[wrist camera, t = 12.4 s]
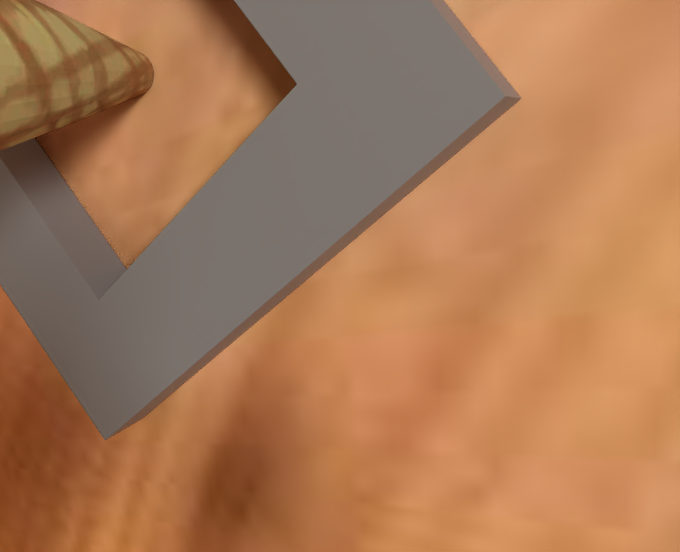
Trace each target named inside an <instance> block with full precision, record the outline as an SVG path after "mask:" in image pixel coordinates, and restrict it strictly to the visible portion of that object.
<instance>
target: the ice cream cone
mask: <svg viewBox="0 0 680 552" xmlns="http://www.w3.org/2000/svg"><path fill="white" fill-rule="evenodd" d="M153 76H154V71H153V67H152V64H151V63H150V61H149V60H148V58H147V57H145V56H144V55H143V54H141V53H139V52H138V51H136V50H134V49H132V48H130V47H128V46H126V45H124V44H122V43H120V42H118V41H116V40H114V39H112V38H110V37H108V36H106V35H104V34H102V33H100V32H98V31H96V30H94V29H92V28H90V27H88V26H86V25H84V24H82V23H80V22H78V21H76V20H74V19H72V18H70V17H68V16H67V15H65V14H63V13H61V12H59V11H57V10H55V9H53V8H50V7H48V6H46V5H44V4H42V3H40V2H38V1H36V0H0V150H3V149H6V148H8V147H11V146H14V145H17V144H19V143H22V142H25V141H27V140H30V139H33V138H35V137H38V136H40V135H43V134H46V133H48V132H51V131H54V130H56V129H59V128H61V127H64V126H67V125H69V124H72V123H74V122H77V121H79V120H81V119H84V118H86V117H89V116H91V115H93V114H96V113H98V112H100V111H103V110H105V109H108V108H110V107H112V106H115V105H117V104H120V103H122V102H124V101H127V100H129V99H132V98H134V97H136V96H139V95H141V94H143V93H146V92H147V91H148V90H149V88H150V87H151V85H152V82H153Z"/></svg>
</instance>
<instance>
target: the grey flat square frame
mask: <svg viewBox="0 0 680 552" xmlns="http://www.w3.org/2000/svg"><path fill="white" fill-rule="evenodd" d="M234 1H235V2H236V4H237V5H238V6H239V8H240V9H241V10H242V12H243V13H244V14H245V16H246V17H247V18H248V20H249V21H250V22H251V24H252V25H253V26H254V28H255V29H256V30H257V31H258V33H259V34H260V35H261V37H262V38H263V39H264V41H265V42H266V43H267V45H268V46H269V47H270V49H271V50H272V51H273V53H274V54H275V55H276V57H277V58H278V59H279V61H280V62H281V63H282V65H283V66H284V67H285V69H286V70H287V71H288V73H289V74H290V75H291V77H292V78H293V79H294V81H295V82H296V83H297V85H296V86H295V87H294V88H293V89H292V90H291V91H290V92H289V93H288V95H287V96H286V97H285V98H284V99H283V100H282V101H281V102H280V103H279V104H278V105H277V107H276V108H275V109H274V110H273V111H272V112H271V113H270V114H269V115H268V116H267V117H266V119H265V120H264V121H263V122H262V123H261V124H260V125H259V126H258V127H257V128H256V129H255V130H254V132H253V133H252V134H251V135H250V136H249V137H248V138H247V139H246V140H245V141H244V142H243V144H242V145H241V146H240V147H239V148H238V149H237V150H236V151H235V152H234V153H233V154H232V156H231V157H230V158H229V159H228V160H227V161H226V162H225V163H224V164H223V165H222V166H221V168H220V169H219V170H218V171H217V172H216V173H215V174H214V175H213V176H212V177H211V178H210V179H209V181H208V182H207V183H206V184H205V185H204V186H203V187H202V188H201V189H200V190H199V191H198V193H197V194H196V195H195V196H194V197H193V198H192V199H191V200H190V201H189V202H188V203H187V205H186V206H185V207H184V208H183V209H182V210H181V211H180V212H179V213H178V214H177V215H176V217H175V218H174V219H173V220H172V221H171V222H170V223H169V224H168V225H167V226H166V227H165V228H164V230H163V231H162V232H161V233H160V234H159V235H158V236H157V237H156V238H155V239H154V240H153V242H152V243H151V244H150V245H149V246H148V247H147V248H146V249H145V250H144V251H143V252H142V254H141V255H140V256H139V257H138V258H137V259H136V260H135V261H134V262H133V263H132V264H131V265H130V267H129V268H128V269H126V268H125V266H124V265H123V264H122V262H121V261H120V259H119V258H118V256H117V255H116V254H115V252H114V251H113V249H112V248H111V246H110V245H109V243H108V242H107V241H106V239H105V238H104V236H103V235H102V233H101V232H100V231H99V229H98V228H97V226H96V225H95V223H94V222H93V221H92V219H91V218H90V216H89V215H88V213H87V212H86V211H85V209H84V208H83V206H82V205H81V203H80V202H79V200H78V199H77V198H76V196H75V195H74V193H73V192H72V190H71V189H70V188H69V186H68V185H67V183H66V182H65V180H64V179H63V178H62V176H61V175H60V173H59V172H58V170H57V169H56V167H55V166H54V165H53V163H52V162H51V160H50V159H49V157H48V156H47V155H46V153H45V152H44V150H43V149H42V147H41V146H40V145H39V143H38V142H37V140H36V139H35V138H33V139H30V140H27V141H25V142H22V143H19V144H17V145H14V146H11V147H8V148H6V149H3V150H0V285H1V286H2V288H3V289H4V291H5V292H6V294H7V295H8V297H9V298H10V300H11V301H12V303H13V304H14V306H15V307H16V309H17V310H18V312H19V313H20V315H21V316H22V317H23V319H24V320H25V322H26V323H27V325H28V326H29V328H30V329H31V331H32V332H33V334H34V335H35V337H36V338H37V340H38V341H39V343H40V344H41V346H42V347H43V349H44V350H45V352H46V353H47V355H48V356H49V358H50V359H51V361H52V362H53V364H54V365H55V367H56V368H57V370H58V371H59V373H60V374H61V375H62V377H63V378H64V380H65V381H66V383H67V384H68V386H69V387H70V389H71V390H72V392H73V393H74V395H75V396H76V398H77V399H78V401H79V402H80V404H81V405H82V407H83V408H84V410H85V411H86V413H87V414H88V416H89V417H90V419H91V420H92V422H93V423H94V425H95V426H96V428H97V429H98V430H99V432H100V433H101V435H102V436H103V438H104V439H105V440H107V439H108V438H110V437H112V436H114V435H115V434H117V433H119V432H120V431H122V430H124V429H125V428H127V427H129V426H130V425H132V424H134V423H136V422H137V421H139V420H141V419H142V418H144V417H145V416H146V415H147V414H148V413H149V412H151V411H152V410H153V409H154V408H155V407H157V406H158V405H159V404H160V403H161V402H162V401H164V400H165V399H166V398H167V397H168V396H170V395H171V394H172V393H173V392H174V391H176V390H177V389H178V388H179V387H180V386H181V385H183V384H184V383H185V382H186V381H187V380H189V379H190V378H191V377H192V376H193V375H194V374H196V373H197V372H198V371H199V370H200V369H202V368H203V367H204V366H205V365H206V364H207V363H209V362H210V361H211V360H212V359H213V358H215V357H216V356H217V355H218V354H219V353H221V352H222V351H223V350H224V349H225V348H226V347H228V346H229V345H230V344H231V343H232V342H234V341H235V340H236V339H237V338H238V337H239V336H241V335H242V334H243V333H244V332H245V331H247V330H248V329H249V328H250V327H251V326H252V325H254V324H255V323H256V322H257V321H258V320H260V319H261V318H262V317H263V316H264V315H266V314H267V313H268V312H269V311H270V310H271V309H273V308H274V307H275V306H276V305H277V304H279V303H280V302H281V301H282V300H283V299H284V298H286V297H287V296H288V295H289V294H290V293H292V292H293V291H294V290H295V289H296V288H297V287H299V286H300V285H301V284H302V283H303V282H305V281H306V280H307V279H308V278H309V277H310V276H312V275H313V274H314V273H315V272H316V271H318V270H319V269H320V268H321V267H322V266H324V265H325V264H326V263H327V262H328V261H329V260H331V259H332V258H333V257H334V256H335V255H337V254H338V253H339V252H340V251H341V250H342V249H344V248H345V247H346V246H347V245H348V244H350V243H351V242H352V241H353V240H354V239H355V238H357V237H358V236H359V235H360V234H361V233H363V232H364V231H365V230H366V229H367V228H369V227H370V226H371V225H372V224H373V223H374V222H376V221H377V220H378V219H379V218H380V217H382V216H383V215H384V214H385V213H386V212H387V211H389V210H390V209H391V208H392V207H393V206H395V205H396V204H397V203H398V202H399V201H400V200H402V199H403V198H404V197H405V196H406V195H408V194H409V193H410V192H411V191H412V190H414V189H415V188H416V187H417V186H418V185H419V184H421V183H422V182H423V181H424V180H425V179H427V178H428V177H429V176H430V175H431V174H432V173H434V172H435V171H436V170H437V169H438V168H440V167H441V166H442V165H443V164H444V163H445V162H447V161H448V160H449V159H450V158H451V157H453V156H454V155H455V154H456V153H457V152H459V151H460V150H461V149H462V148H463V147H464V146H466V145H467V144H468V143H469V142H470V141H472V140H473V139H474V138H475V137H476V136H477V135H479V134H480V133H481V132H482V131H483V130H485V129H486V128H487V127H488V126H489V125H490V124H492V123H493V122H494V121H495V120H496V119H498V118H499V117H500V116H501V115H502V114H504V113H505V112H506V111H507V110H508V109H509V108H511V107H512V106H513V105H514V104H515V103H517V102H518V101H519V100H520V99H521V97H520V96H519V95H518V93H517V92H516V91H515V90H514V88H513V87H512V86H511V85H510V83H509V82H508V81H507V80H506V78H505V77H504V76H503V75H502V73H501V72H500V71H499V69H498V68H497V67H496V66H495V64H494V63H493V62H492V61H491V59H490V58H489V57H488V56H487V54H486V53H485V52H484V51H483V49H482V48H481V47H480V46H479V44H478V43H477V42H476V41H475V39H474V38H473V37H472V36H471V34H470V33H469V32H468V30H467V29H466V28H465V27H464V25H463V24H462V23H461V22H460V20H459V19H458V18H457V17H456V15H455V14H454V13H453V12H452V10H451V9H450V8H449V7H448V5H447V4H446V3H445V2H444V0H234Z"/></svg>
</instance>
